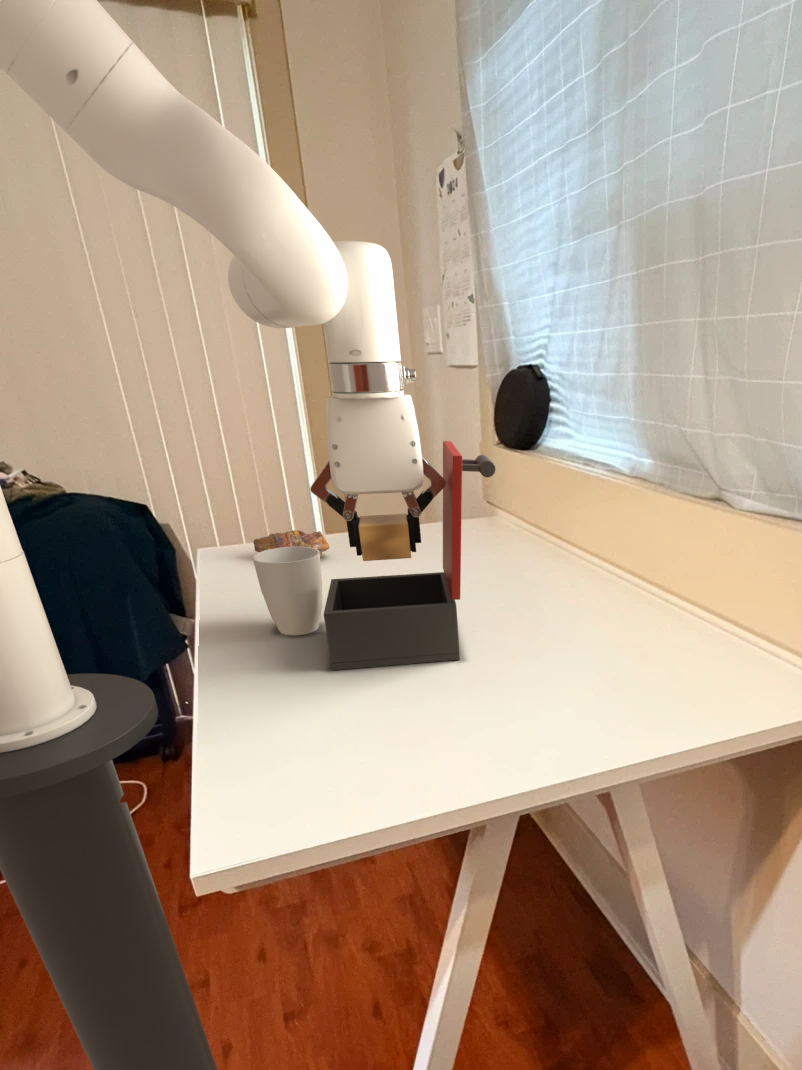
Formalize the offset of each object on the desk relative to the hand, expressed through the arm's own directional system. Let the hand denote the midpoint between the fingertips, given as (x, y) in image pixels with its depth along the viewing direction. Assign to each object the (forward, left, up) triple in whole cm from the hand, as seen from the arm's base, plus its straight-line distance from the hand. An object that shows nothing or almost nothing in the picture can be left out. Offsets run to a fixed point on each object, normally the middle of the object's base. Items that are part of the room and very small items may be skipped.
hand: (386, 549), depth 84 cm
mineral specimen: (-17, +45, -12) cm, 50 cm away
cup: (-13, +8, -12) cm, 19 cm away
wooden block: (0, 0, 0) cm, 0 cm away
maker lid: (+7, 0, +3) cm, 8 cm away
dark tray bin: (0, 0, -12) cm, 12 cm away
